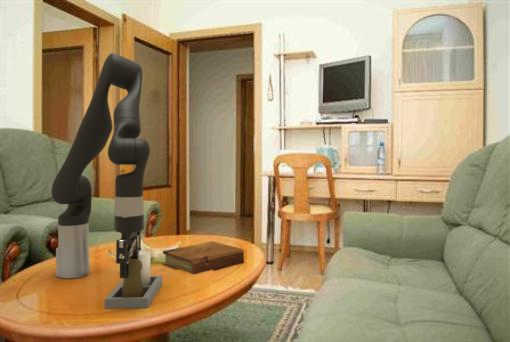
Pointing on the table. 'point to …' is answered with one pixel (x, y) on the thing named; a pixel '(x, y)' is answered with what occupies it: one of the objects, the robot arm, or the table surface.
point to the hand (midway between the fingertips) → (129, 272)
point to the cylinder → (145, 267)
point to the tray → (119, 302)
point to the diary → (203, 257)
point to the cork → (133, 280)
